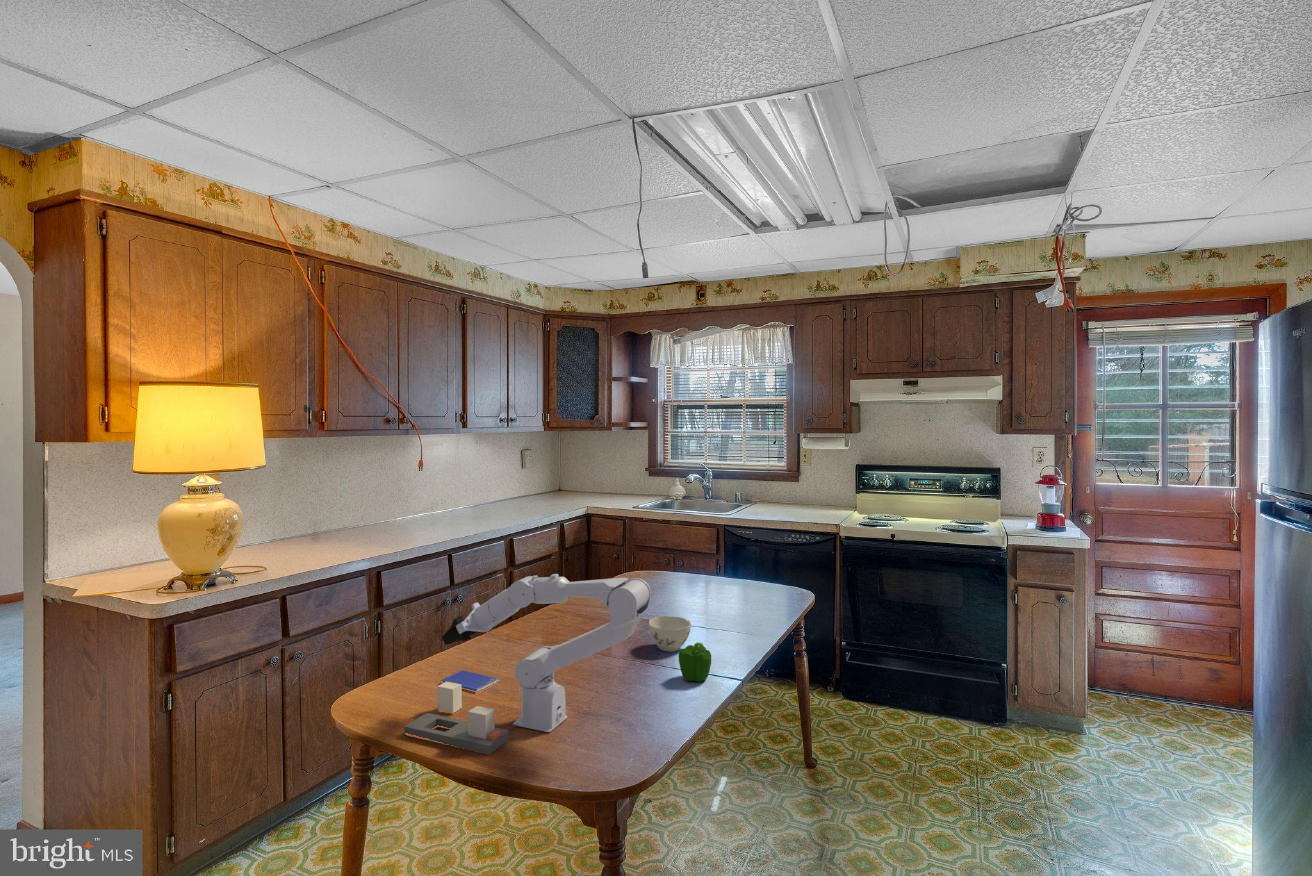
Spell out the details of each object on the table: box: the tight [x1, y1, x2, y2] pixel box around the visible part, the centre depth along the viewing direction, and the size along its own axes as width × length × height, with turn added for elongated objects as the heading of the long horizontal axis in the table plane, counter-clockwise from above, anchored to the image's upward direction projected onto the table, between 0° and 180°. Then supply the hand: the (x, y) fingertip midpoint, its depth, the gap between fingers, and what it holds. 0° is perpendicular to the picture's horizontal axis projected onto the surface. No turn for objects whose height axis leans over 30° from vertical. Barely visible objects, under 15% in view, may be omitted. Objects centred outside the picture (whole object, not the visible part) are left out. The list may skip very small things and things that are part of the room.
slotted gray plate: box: [403, 705, 510, 756], centre depth 141 cm, size 22×7×7 cm, turn 68°
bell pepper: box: [678, 641, 712, 683], centre depth 172 cm, size 8×8×10 cm
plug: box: [437, 682, 463, 713], centre depth 154 cm, size 4×3×6 cm
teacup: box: [648, 615, 692, 653], centre depth 196 cm, size 15×12×8 cm
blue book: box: [440, 669, 500, 692], centre depth 170 cm, size 2×8×12 cm
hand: (455, 636), depth 155 cm, fingers open, 7 cm apart
